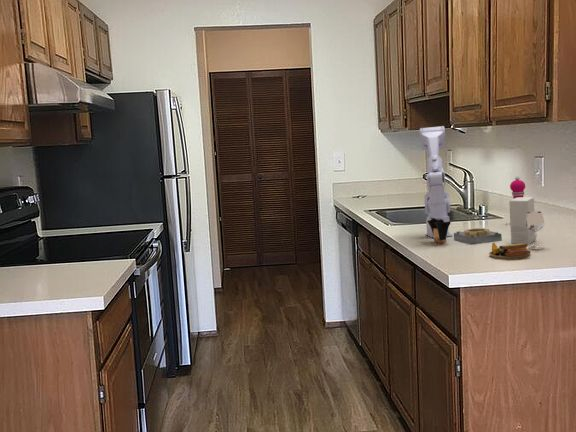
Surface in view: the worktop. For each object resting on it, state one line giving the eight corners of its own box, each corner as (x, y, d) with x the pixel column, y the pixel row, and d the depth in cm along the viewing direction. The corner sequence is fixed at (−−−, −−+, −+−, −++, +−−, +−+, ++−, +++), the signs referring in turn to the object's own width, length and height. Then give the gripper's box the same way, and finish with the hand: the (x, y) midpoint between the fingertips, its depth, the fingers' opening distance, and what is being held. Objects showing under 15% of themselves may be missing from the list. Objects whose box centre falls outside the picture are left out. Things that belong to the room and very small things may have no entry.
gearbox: (450, 238, 234) (449, 229, 233) (479, 234, 236) (478, 225, 235) (471, 244, 217) (470, 234, 217) (501, 240, 219) (501, 230, 219)
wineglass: (540, 245, 202) (538, 210, 201) (548, 248, 197) (546, 212, 195) (523, 247, 202) (521, 212, 201) (531, 250, 197) (529, 214, 195)
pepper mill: (530, 224, 249) (527, 176, 247) (512, 225, 251) (509, 177, 249) (527, 221, 256) (524, 175, 254) (509, 222, 258) (506, 176, 256)
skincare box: (518, 239, 217) (516, 197, 215) (537, 240, 213) (535, 196, 211) (510, 244, 211) (507, 200, 209) (529, 244, 206) (527, 199, 205)
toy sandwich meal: (526, 251, 197) (525, 237, 196) (535, 259, 184) (534, 244, 183) (486, 253, 199) (486, 239, 199) (492, 261, 186) (491, 246, 186)
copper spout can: (437, 244, 224) (436, 226, 223) (432, 242, 228) (431, 225, 228) (448, 242, 225) (447, 225, 224) (443, 241, 229) (442, 224, 228)
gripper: (420, 203, 231) (422, 237, 233) (435, 206, 217) (438, 242, 219) (437, 201, 233) (439, 235, 234) (453, 203, 218) (456, 240, 220)
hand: (440, 239), depth 226 cm, fingers closed on copper spout can, 4 cm apart
